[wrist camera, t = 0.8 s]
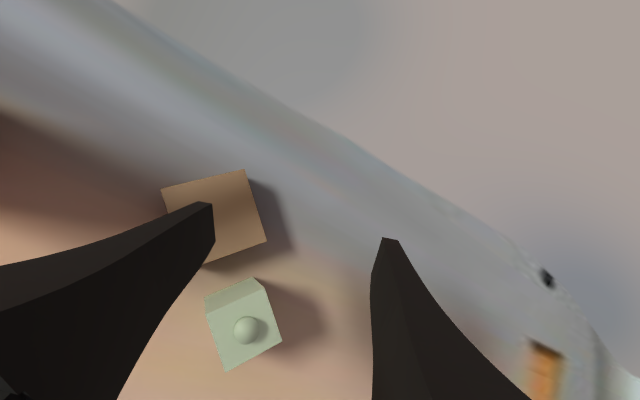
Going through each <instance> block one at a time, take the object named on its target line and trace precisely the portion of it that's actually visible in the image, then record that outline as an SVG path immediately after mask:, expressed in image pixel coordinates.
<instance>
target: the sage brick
mask: <svg viewBox="0 0 640 400" xmlns="http://www.w3.org/2000/svg"><path fill="white" fill-rule="evenodd" d="M204 301H205V315H206V318H207V321H208V324H209V327H210V330H211V333H212V336H213V338H214V341H215V344H216V347H217V350H218V353H219V356H220V359H221V362H222V364H223V367H224V370H225V373H226V372H228V371H229V370H231V369H233V368H235V367H237V366H238V365H240V364H242V363H244V362H246V361H248V360H249V359H251V358H253V357H255V356H257V355H258V354H260V353H262V352H264V351H266V350H267V349H269V348H271V347H273V346H275V345H277V344H278V343H280V342H282V338H281V335H280V332H279V329H278V327H277V324H276V321H275V318H274V315H273V312H272V309H271V306H270V303H269V300H268V297H267V294H266V291H265V288H264V287H263V286H262V285H261V284H260V283H259V282H258V281H256V280H255V279H254V278H253V277H250V278H248V279H245V280H243V281H241V282H238V283H236V284H234V285H231V286H229V287H227V288H224V289H222V290H220V291H217V292H215V293H212V294H210V295H208V296H205V297H204Z"/></svg>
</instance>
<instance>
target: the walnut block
mask: <svg viewBox="0 0 640 400" xmlns="http://www.w3.org/2000/svg"><path fill="white" fill-rule="evenodd" d="M160 190H161V193H162V196H163V199H164V202H165V205H166V208H167V212H168V214H169V213H171V212H173V211H175V210H178V209H180V208H182V207H185V206H187V205H189V204H192V203H194V202H197V201H201V202H206V203H212V206H213V217H214V227H215V238H216V242H215V244H214V246H213V247H212V249H211V251H210V253H209V255H208V256H207V258H206V260H205V261H204V263H203V264H205V263H208V262H210V261H213V260H216V259H219V258H222V257H224V256H227V255H230V254H233V253H236V252H238V251H241V250H244V249H247V248H250V247H252V246H255V245H258V244H261V243H264V242H266V241H267V239H266V236H265V233H264V230H263V227H262V223H261V220H260V217H259V214H258V211H257V208H256V204H255V201H254V198H253V195H252V192H251V188H250V185H249V182H248V179H247V176H246V173H245V169H242V170H238V171H233V172H229V173H225V174H221V175H216V176H212V177H208V178H204V179H200V180H195V181H191V182H187V183H183V184H178V185H174V186H170V187H166V188H162V189H160Z"/></svg>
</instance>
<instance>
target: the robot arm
mask: <svg viewBox="0 0 640 400" xmlns="http://www.w3.org/2000/svg"><path fill="white" fill-rule="evenodd" d="M215 242H216V238H215V227H214V217H213V206H212V203H206V202H201V201H197V202H194V203H192V204H189V205H187V206H185V207H182V208H180V209H178V210H175V211H173V212H171V213H169V214H166V215H164V216H162V217H160V218H157V219H155V220H153V221H150V222H148V223H146V224H143V225H141V226H138V227H136V228H133V229H131V230H128V231H125V232H123V233H120V234H118V235H115V236H112V237H109V238H106V239H103V240H100V241H97V242H94V243H91V244H88V245H85V246H81V247H78V248H74V249H70V250H66V251H63V252H59V253H55V254H51V255H48V256H44V257H39V258H35V259H30V260H26V261H21V262H17V263H12V264H7V265H2V266H0V400H117V398H118V396H119V394H120V392H121V390H122V388H123V386H124V384H125V383H126V381H127V379H128V377H129V375H130V373H131V371H132V370H133V368H134V366H135V364H136V362H137V361H138V359H139V357H140V355H141V354H142V352H143V350H144V348H145V347H146V345H147V343H148V342H149V340H150V338H151V336H152V335H153V333H154V332H155V330H156V328H157V327H158V325H159V323H160V322H161V320H162V319H163V317H164V315H165V314H166V312H167V311H168V310H169V308H170V307H171V305H172V304H173V303H174V301H175V300H176V299H177V297H178V296H179V295H180V293H181V292H182V291H183V289H184V288H185V287H186V286H187V284H188V283H189V282H190V280H191V279H192V278H193V276H194V275H195V274H196V272H197V271H198V270H199V268H200V267H201V266H202V264H203V263H204V261H205V260H206V258H207V256H208V255H209V253H210V251H211V249H212V247H213V246H214V244H215ZM370 309H371V326H372V343H373V383H372V400H531V399H530V398H529V397H528V396H527V395H525V394H524V393H523V392H522V391H521V390H520V389H519V388H517V387H516V386H515V385H514V384H513V383H512V382H511V381H510V380H509V379H508V378H507V377H505V376H504V375H503V374H502V373H501V372H500V371H499V370H498V369H497V368H496V367H495V366H494V365H493V364H492V363H491V362H490V361H489V360H488V359H487V358H485V357H484V356H483V355H482V354H481V352H480V351H479V350H478V349H477V348H476V347H475V346H474V345H473V344H472V343H471V342H470V341H469V340H468V339H467V338H466V337H465V336H464V335H463V333H462V332H461V331H460V330H459V329H458V328H457V327H456V325H455V324H454V323H453V322H452V321H451V320H450V318H449V317H448V316H447V315H446V314H445V312H444V311H443V310H442V309H441V307H440V306H439V305H438V303H437V302H436V301H435V299H434V298H433V296H432V295H431V294H430V292H429V291H428V289H427V288H426V286H425V285H424V283H423V282H422V280H421V279H420V277H419V276H418V274H417V272H416V271H415V269H414V267H413V266H412V264H411V262H410V261H409V259H408V257H407V255H406V254H405V252H404V250H403V248H402V247H401V245H400V243H399V241H398V240H394V239H389V238H384V237H382V240H381V244H380V247H379V250H378V253H377V257H376V260H375V263H374V266H373V270H372V273H371V284H370Z"/></svg>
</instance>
